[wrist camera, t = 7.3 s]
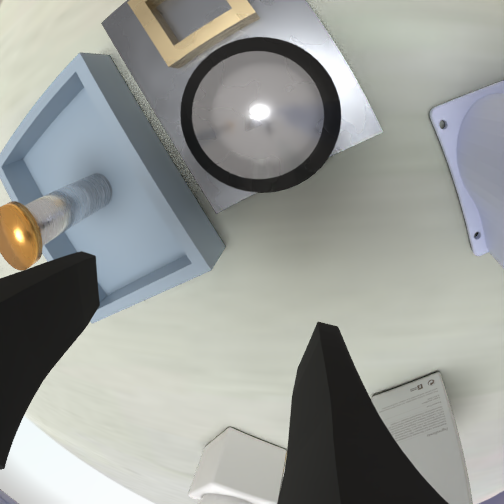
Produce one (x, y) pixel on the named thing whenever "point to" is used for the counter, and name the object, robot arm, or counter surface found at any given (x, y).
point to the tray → (121, 180)
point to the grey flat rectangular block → (243, 89)
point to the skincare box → (427, 434)
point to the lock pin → (48, 218)
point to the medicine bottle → (238, 471)
